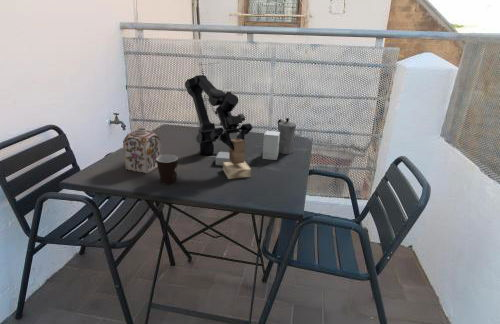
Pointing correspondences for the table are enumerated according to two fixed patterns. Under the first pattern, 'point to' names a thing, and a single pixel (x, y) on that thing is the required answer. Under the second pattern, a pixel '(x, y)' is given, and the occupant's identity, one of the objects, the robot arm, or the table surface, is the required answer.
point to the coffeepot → (286, 136)
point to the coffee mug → (167, 168)
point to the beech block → (236, 170)
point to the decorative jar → (141, 150)
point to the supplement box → (271, 145)
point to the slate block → (222, 158)
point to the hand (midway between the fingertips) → (238, 148)
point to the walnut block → (237, 151)
